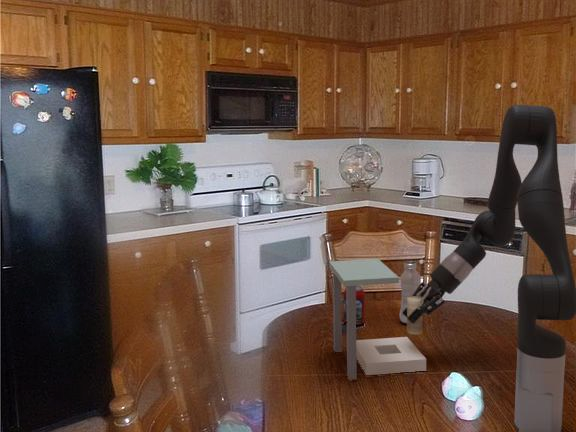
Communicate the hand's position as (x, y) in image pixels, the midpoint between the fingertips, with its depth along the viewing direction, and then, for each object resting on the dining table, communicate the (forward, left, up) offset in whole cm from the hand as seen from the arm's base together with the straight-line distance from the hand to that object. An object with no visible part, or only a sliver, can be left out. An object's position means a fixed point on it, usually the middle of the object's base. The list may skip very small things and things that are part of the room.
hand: (407, 318), depth 158 cm
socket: (-3, +4, -12) cm, 13 cm away
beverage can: (+21, +24, -12) cm, 34 cm away
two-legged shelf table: (-8, +10, -12) cm, 17 cm away
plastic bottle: (+29, +8, -12) cm, 32 cm away
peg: (+1, -2, -4) cm, 5 cm away
